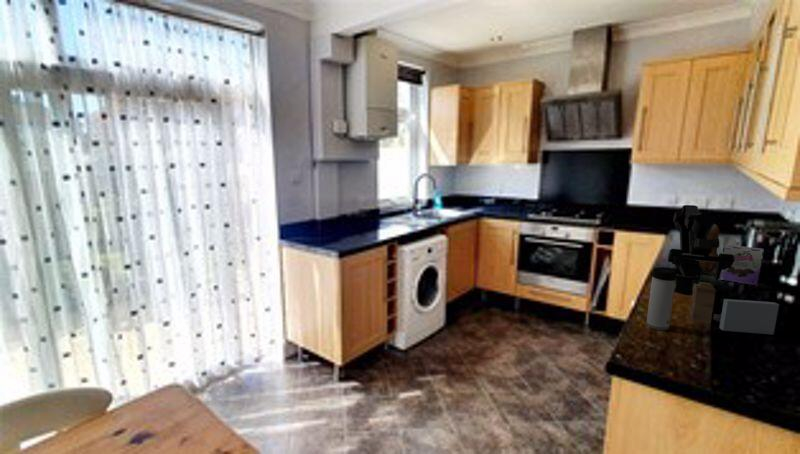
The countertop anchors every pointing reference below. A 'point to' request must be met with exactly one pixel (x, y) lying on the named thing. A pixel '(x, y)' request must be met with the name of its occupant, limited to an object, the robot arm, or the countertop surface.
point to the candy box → (743, 264)
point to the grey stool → (748, 316)
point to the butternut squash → (711, 266)
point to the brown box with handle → (702, 303)
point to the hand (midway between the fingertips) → (700, 278)
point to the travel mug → (661, 298)
